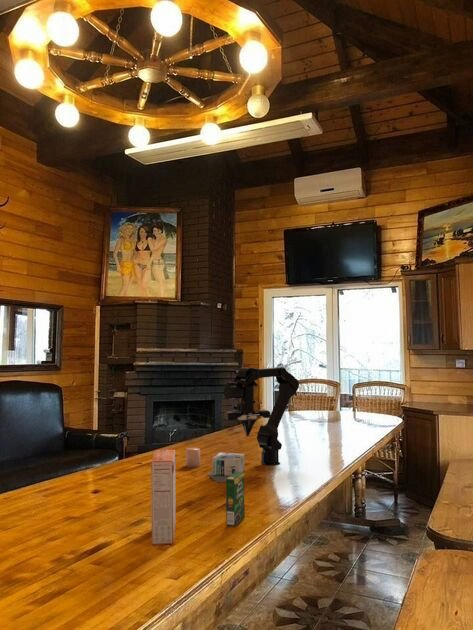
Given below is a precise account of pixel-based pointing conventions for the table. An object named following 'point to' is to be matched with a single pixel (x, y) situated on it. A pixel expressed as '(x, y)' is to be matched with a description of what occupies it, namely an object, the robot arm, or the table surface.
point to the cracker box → (163, 497)
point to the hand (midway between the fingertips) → (247, 435)
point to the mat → (218, 477)
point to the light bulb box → (228, 464)
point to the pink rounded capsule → (192, 457)
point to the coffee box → (235, 499)
